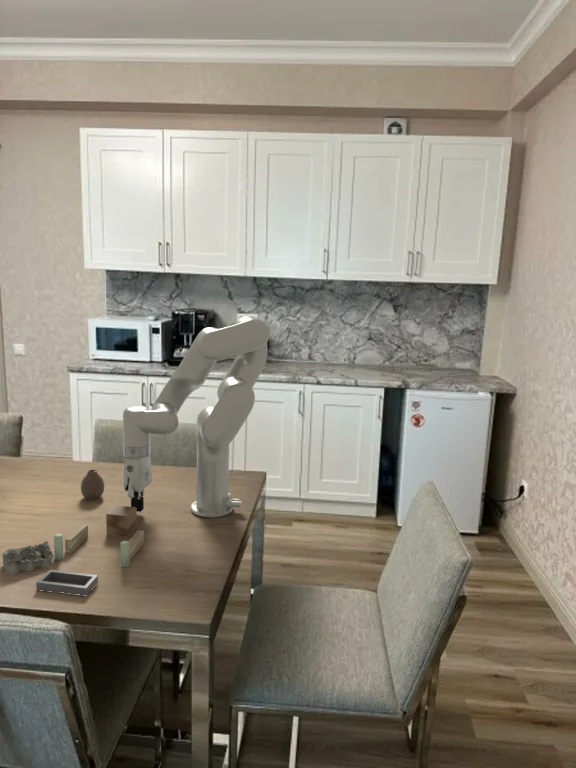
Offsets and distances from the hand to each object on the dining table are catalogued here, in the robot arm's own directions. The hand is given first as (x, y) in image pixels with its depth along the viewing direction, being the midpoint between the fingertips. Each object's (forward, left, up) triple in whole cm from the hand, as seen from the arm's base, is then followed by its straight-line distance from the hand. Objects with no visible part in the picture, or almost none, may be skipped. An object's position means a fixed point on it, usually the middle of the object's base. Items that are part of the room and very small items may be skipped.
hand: (137, 510), depth 167 cm
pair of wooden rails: (0, +21, -1) cm, 21 cm away
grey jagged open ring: (+14, +33, -2) cm, 36 cm away
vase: (+18, -9, -2) cm, 20 cm away
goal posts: (0, +28, -1) cm, 28 cm away
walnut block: (0, +11, -2) cm, 11 cm away
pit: (0, +40, -1) cm, 40 cm away
